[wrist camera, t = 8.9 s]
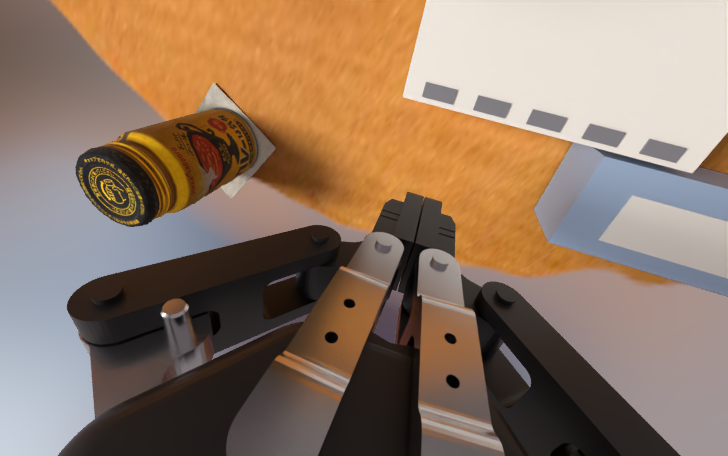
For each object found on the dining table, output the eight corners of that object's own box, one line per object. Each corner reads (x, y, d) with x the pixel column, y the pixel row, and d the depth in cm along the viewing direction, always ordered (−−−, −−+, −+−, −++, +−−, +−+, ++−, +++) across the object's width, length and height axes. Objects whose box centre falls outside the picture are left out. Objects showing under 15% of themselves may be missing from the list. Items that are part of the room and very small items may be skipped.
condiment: (277, 147, 28) (175, 204, 18) (233, 198, 32) (131, 266, 22) (215, 81, 26) (65, 104, 16) (177, 144, 31) (41, 192, 21)
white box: (479, -163, 16) (486, -239, 11) (831, -109, 14) (995, -176, 10) (413, 87, 22) (402, 97, 18) (645, 147, 20) (693, 174, 16)
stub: (577, 135, 21) (605, 157, 17) (843, 204, 19) (947, 247, 15) (533, 209, 24) (548, 243, 20) (756, 274, 22) (822, 326, 18)
